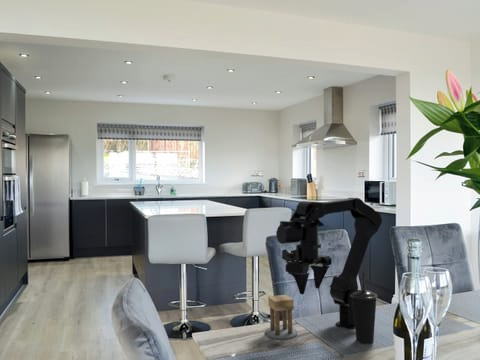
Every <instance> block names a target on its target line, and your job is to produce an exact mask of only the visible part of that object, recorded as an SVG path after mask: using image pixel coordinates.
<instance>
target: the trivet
mask: <svg viewBox="0 0 480 360" xmlns="http://www.w3.org/2000/svg"><path fill="white" fill-rule="evenodd" d="M264 334H265V336H266V335H267V337H268V338H270V339H275V340H291V339H293V338H296V337H297V336H298V330H297V329H296V328H294V327H292V334H288V326H287V329H283V325H280V335H278V336H277V335H275V331H271V330H270V327H268V328H266V329H265V330H264Z"/></svg>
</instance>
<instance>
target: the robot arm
mask: <svg viewBox="0 0 480 360" xmlns="http://www.w3.org/2000/svg"><path fill="white" fill-rule="evenodd" d="M348 211H349V213H350V216H351V217H352V219H354V223H353V224H354V225H353V226H354V231H355V234H354V237H353V240H352V243H351V246H350V249H349V251H348V255H347V258H346V260H345V263H344V265H343V269H342V271H341V273H340V274H339V275H338V276H337V275H334V276H333V277H332V281H331V284H330V285H329V288H330V290H329V294H330V296H331V298H332V300H333V303H334V304H335V305H338V307H339V308H338V309H339V311H338V312H339V313H338V315H339V319H338V321H337V322H335V326H339V327H342V328H343V327H344V328H346V329H353V330H355V323H354V314H353V305H352V297H351V293H352V292H355V291H357V290H359V284H358V279H357V278H358V275H359V273H360V269H361V266H362V264H363V261H364V257H365V255H366V251H367V249H368V246H369V243H370V241H371V238H373V236H375V235H376V233H378V232H379V229H380V227H381V225H382V223H383V218H382V215H381V214H380V213H379V212H378V211H376V210H375V209H374V208H373V207H371V206H370V205H368V204H367V203H365V202H364V201H363V200H362V199H361V198H359V197H348V198H343V199H337V200H330V201H323V202H320V201H309V200H308V201H307V200H306V201H305V200H302V201H299V202H298V204H297V206H296V209H295V210H294V213H293V214H292V215H291V217H290V219H289V221H285V220H280V221H279V225H278V227H277V229H276V231H275V233H276V239H277V241H278V242H279V244H281V245H284V244H294V243H299V244H297V245H296V246H295V247H296V249H293V250H290V248H286V249H283V250H282V252H281V259H282V260H283V261H285V266H284V267H285V269H284V270H285V273H288V274H289V275H291V276H292V277H293V278H294V280H295V283H296V286H297V289H298V292H299V294H300V295H304V294H305V291H306V287H307V284H308V279H309V275H310V273H309V270H310V268H311V269H312V272H313V279H314V281H313V282H314V287H315V289H320V287H321V285H322V282H323V281H324V278H325V277H326V275H327V274H326V273H327V272H328V269H329V268H330V266H331V265H332V262H333V260H332V257H331V256H330V255H325V254H319V249H321V248H322V244H321V243H320V244H319V228H320V227H324V225H325V224H324V223H323V222H322V221H321V220H320V219H322V218H324V217H325V216H327V215H329V214H335V213H343V212H348Z"/></svg>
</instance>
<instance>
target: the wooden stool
mask: <svg viewBox="0 0 480 360" xmlns="http://www.w3.org/2000/svg"><path fill="white" fill-rule="evenodd" d="M267 300H268V301H267V302H268V304H267V305H268V307H269V318H270V319H269V320H270V321H269V323H270V324H269V325H270V326H269V328H270V330H271V331H275V335H277V336H278V335H280V326H281V323H280V312H282V326H283V329H287V327H288V334H292V328H293V310H294V307H295V306H294V298H292V297H290V296H288V295H287V294H282V295H281V294H279V295H270V296H268V297H267Z"/></svg>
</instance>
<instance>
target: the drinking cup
mask: <svg viewBox="0 0 480 360" xmlns="http://www.w3.org/2000/svg"><path fill="white" fill-rule="evenodd" d="M365 274H366V273H365V272H362V273H361V275H362V277H361V281H362V284H361V285H362V288H361V289H358V290H357V291H355V292H352V293H351V297H352V305H353V314H354V323H355V328H354V330H355V339H356V342H358V343H360V344H366V345H367V344H373V343H374V337H375V324H376V323H375V321H376V309H377V299H378V294H377V293H375V292H373V291H371V290H367V289H366V284H365V283H366V276H365Z"/></svg>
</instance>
